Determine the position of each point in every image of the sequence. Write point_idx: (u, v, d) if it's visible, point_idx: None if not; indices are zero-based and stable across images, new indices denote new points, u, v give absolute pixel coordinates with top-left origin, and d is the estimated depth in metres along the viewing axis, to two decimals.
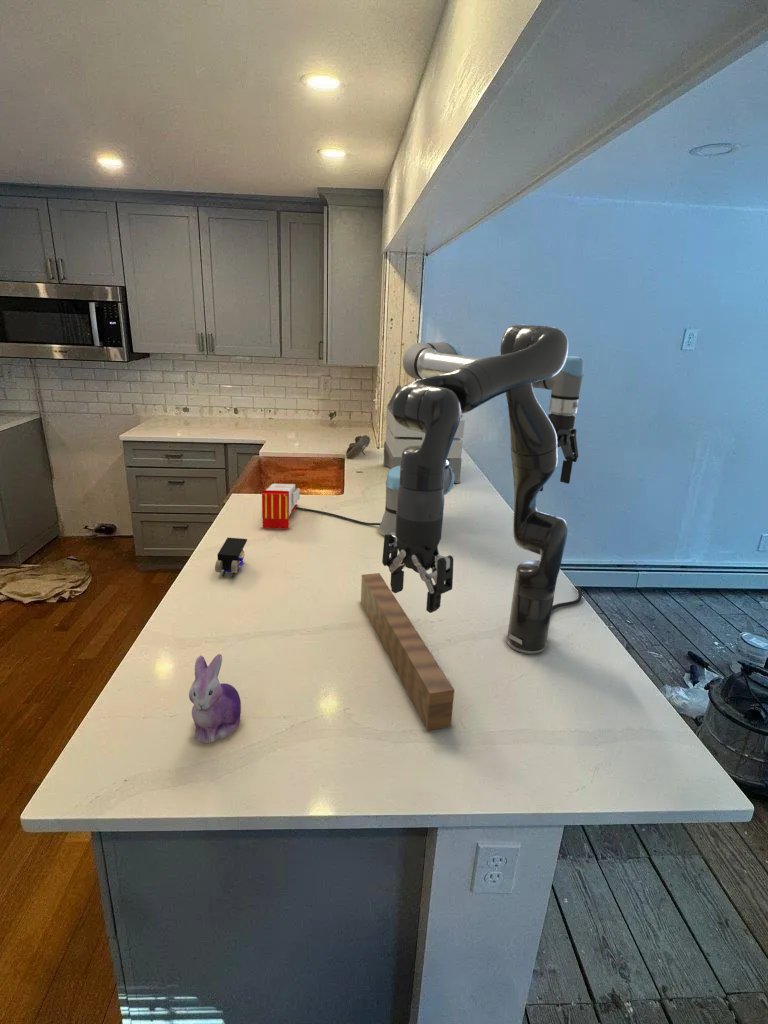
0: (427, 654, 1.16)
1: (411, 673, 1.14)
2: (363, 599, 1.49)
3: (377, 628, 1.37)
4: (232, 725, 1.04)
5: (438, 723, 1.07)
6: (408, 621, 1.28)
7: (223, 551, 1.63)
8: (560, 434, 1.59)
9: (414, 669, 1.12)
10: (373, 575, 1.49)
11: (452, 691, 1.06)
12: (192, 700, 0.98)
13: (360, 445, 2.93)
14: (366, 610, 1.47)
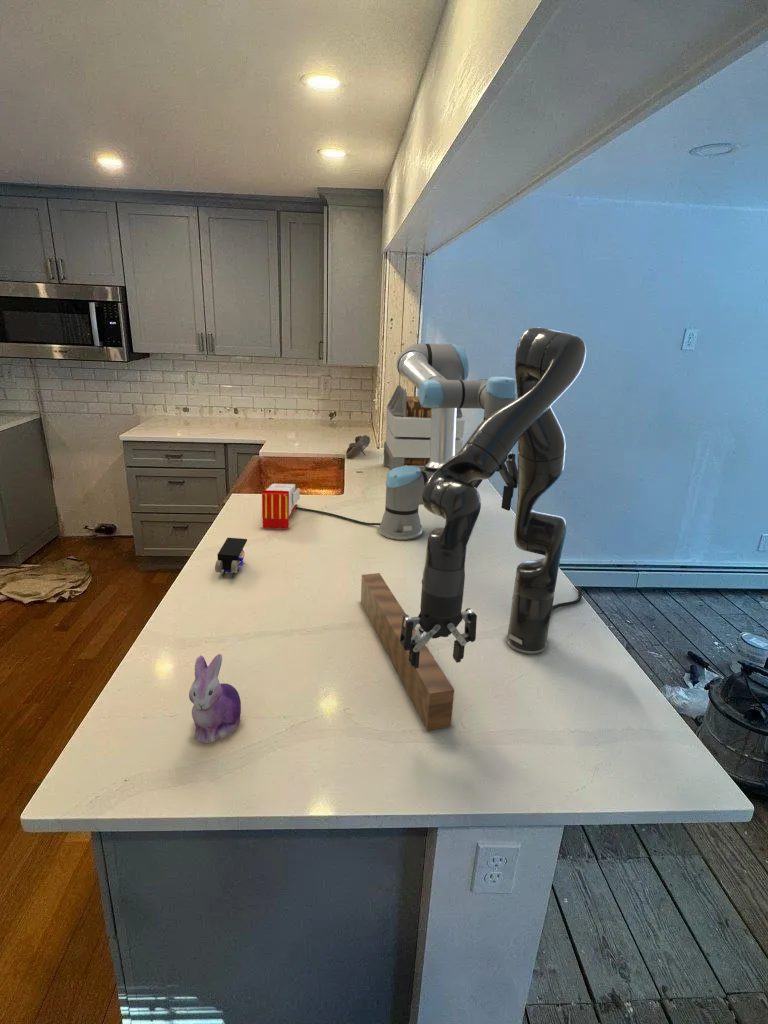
0: (427, 654, 1.16)
1: (411, 673, 1.14)
2: (363, 599, 1.49)
3: (377, 628, 1.37)
4: (232, 725, 1.04)
5: (438, 723, 1.07)
6: None
7: (223, 551, 1.63)
8: None
9: (414, 669, 1.12)
10: (373, 575, 1.49)
11: (452, 691, 1.06)
12: (192, 700, 0.98)
13: (360, 445, 2.93)
14: (366, 610, 1.47)
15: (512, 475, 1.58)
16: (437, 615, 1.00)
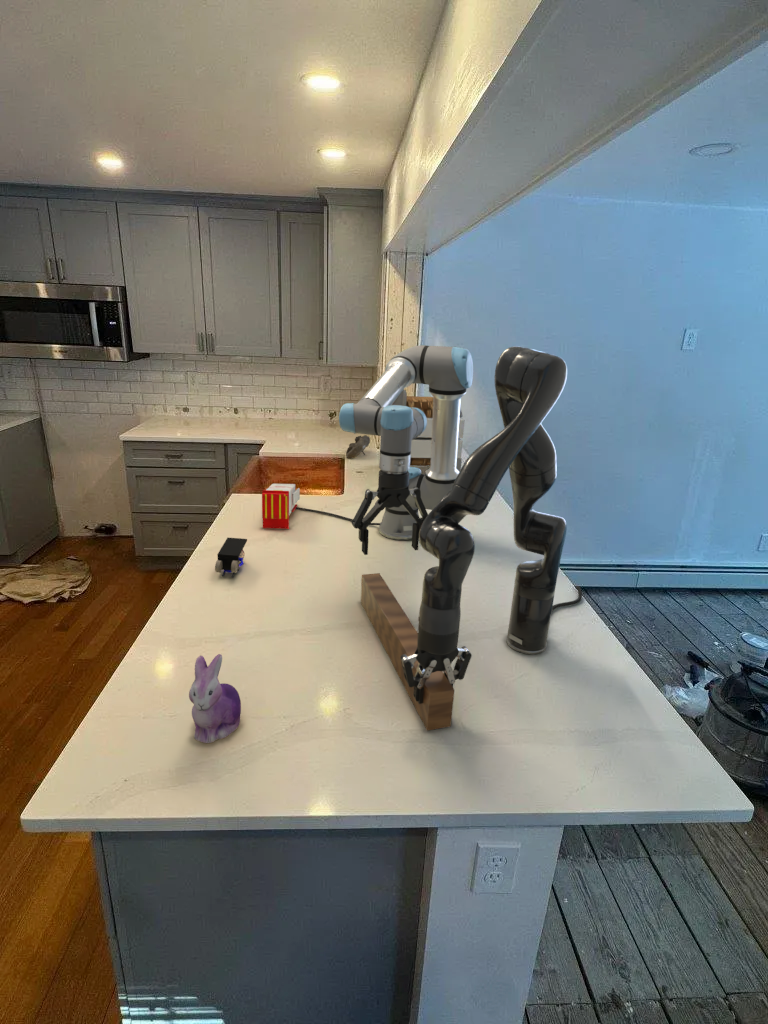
0: None
1: None
2: (363, 599, 1.49)
3: (377, 628, 1.37)
4: (232, 725, 1.04)
5: (438, 723, 1.07)
6: (408, 621, 1.28)
7: (223, 551, 1.63)
8: (389, 493, 1.39)
9: (414, 669, 1.12)
10: (373, 575, 1.49)
11: (452, 691, 1.06)
12: (192, 700, 0.98)
13: (360, 445, 2.93)
14: (366, 610, 1.47)
15: (421, 512, 1.45)
16: (433, 652, 1.02)
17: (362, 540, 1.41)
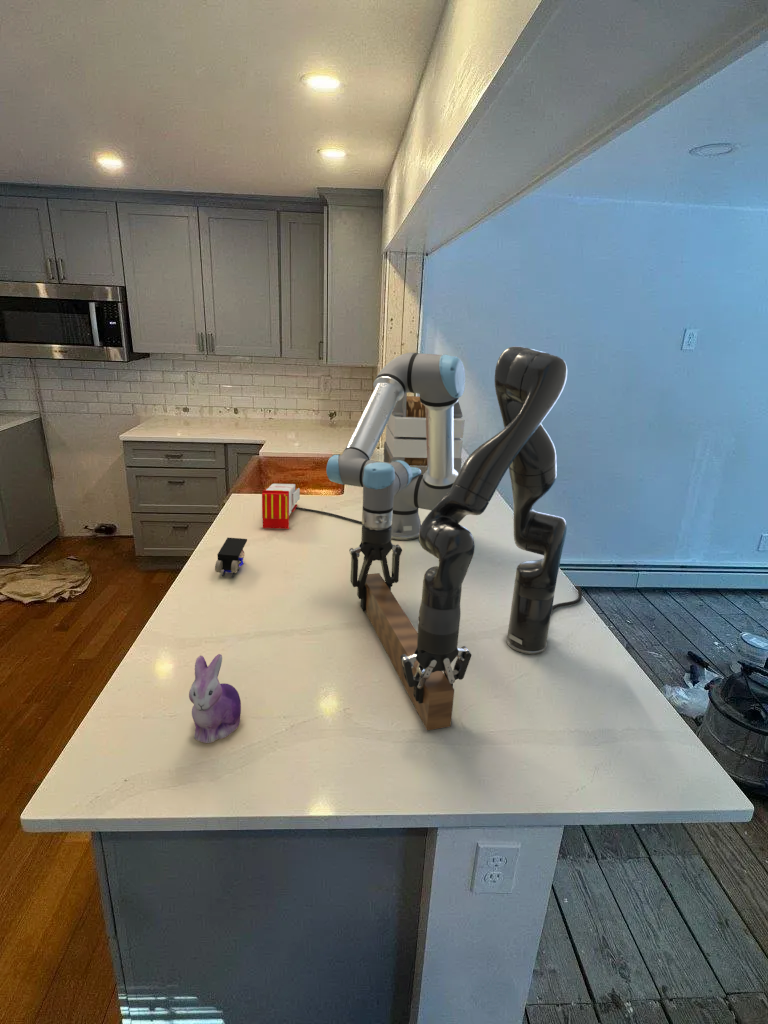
0: None
1: None
2: None
3: (377, 628, 1.37)
4: (232, 725, 1.04)
5: (438, 723, 1.07)
6: (408, 621, 1.28)
7: (223, 551, 1.63)
8: (372, 547, 1.42)
9: (414, 669, 1.12)
10: (373, 575, 1.49)
11: (452, 691, 1.06)
12: (192, 700, 0.98)
13: None
14: (366, 610, 1.47)
15: (393, 570, 1.47)
16: (433, 651, 1.02)
17: (360, 597, 1.46)
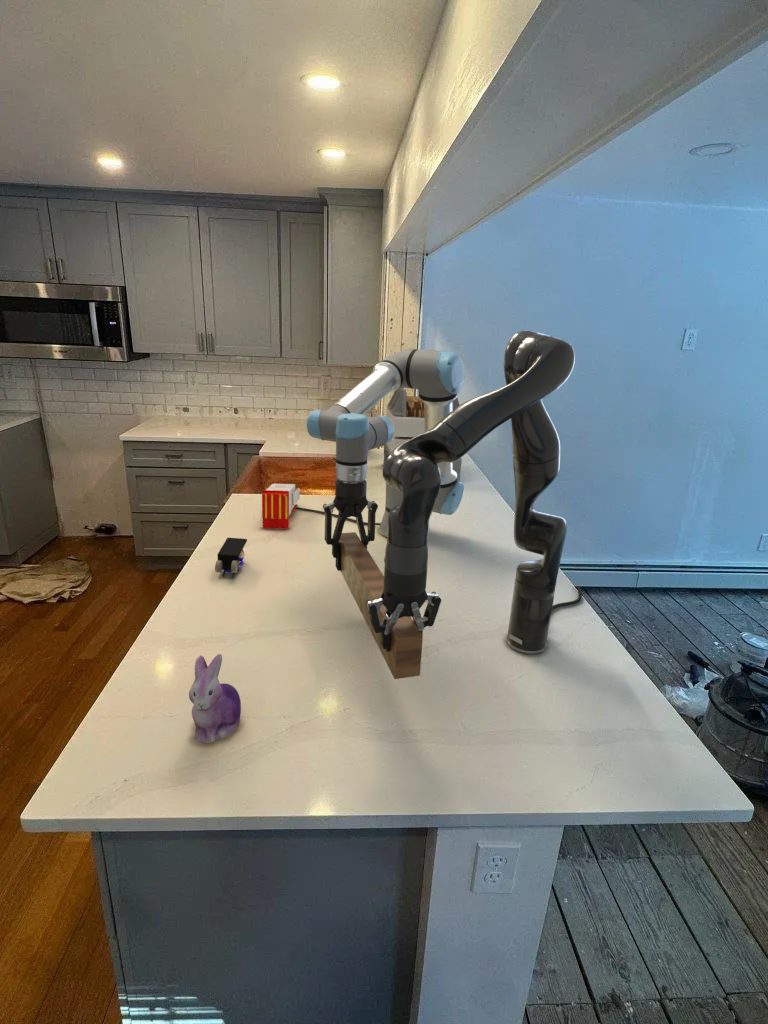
0: None
1: (380, 622, 1.09)
2: None
3: (350, 585, 1.32)
4: (232, 725, 1.04)
5: (407, 672, 1.02)
6: (381, 574, 1.23)
7: (223, 551, 1.63)
8: (346, 503, 1.37)
9: (382, 617, 1.07)
10: (348, 533, 1.44)
11: (420, 637, 1.00)
12: (192, 700, 0.98)
13: None
14: (341, 569, 1.41)
15: (369, 528, 1.42)
16: (399, 593, 0.97)
17: (335, 556, 1.41)
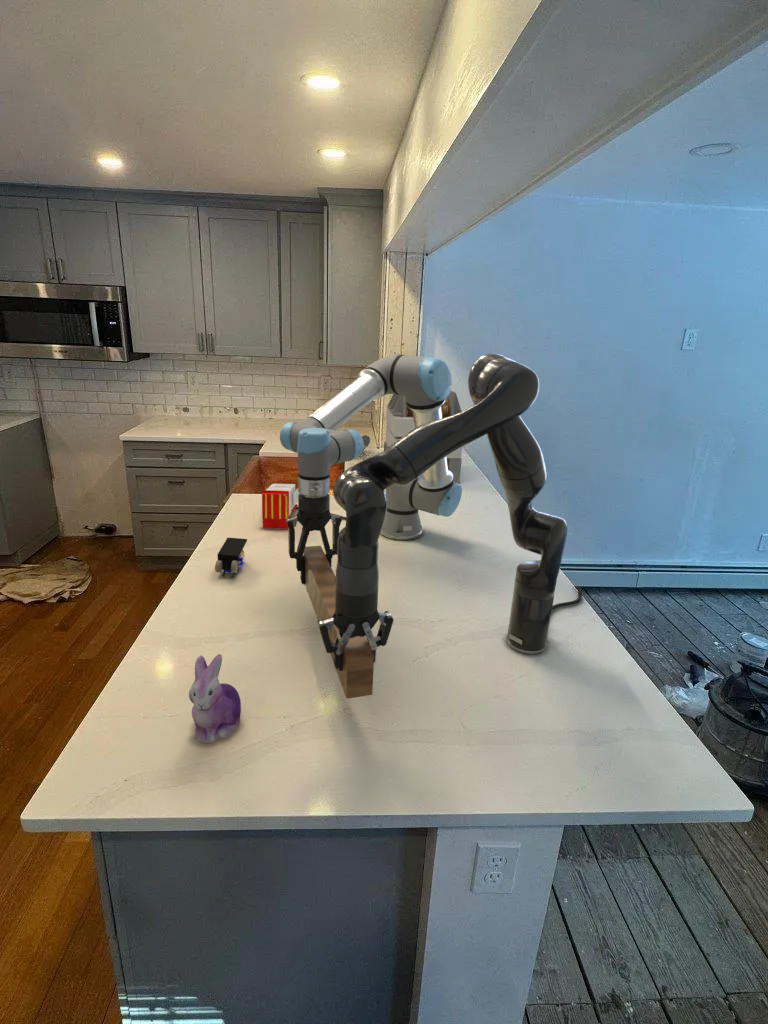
0: None
1: None
2: None
3: (312, 600, 1.32)
4: (232, 725, 1.04)
5: (358, 691, 1.02)
6: None
7: (223, 551, 1.63)
8: (309, 517, 1.36)
9: (336, 636, 1.07)
10: (313, 547, 1.44)
11: (372, 657, 1.00)
12: (192, 700, 0.98)
13: None
14: (305, 583, 1.41)
15: (333, 541, 1.42)
16: (349, 614, 0.97)
17: (299, 570, 1.41)
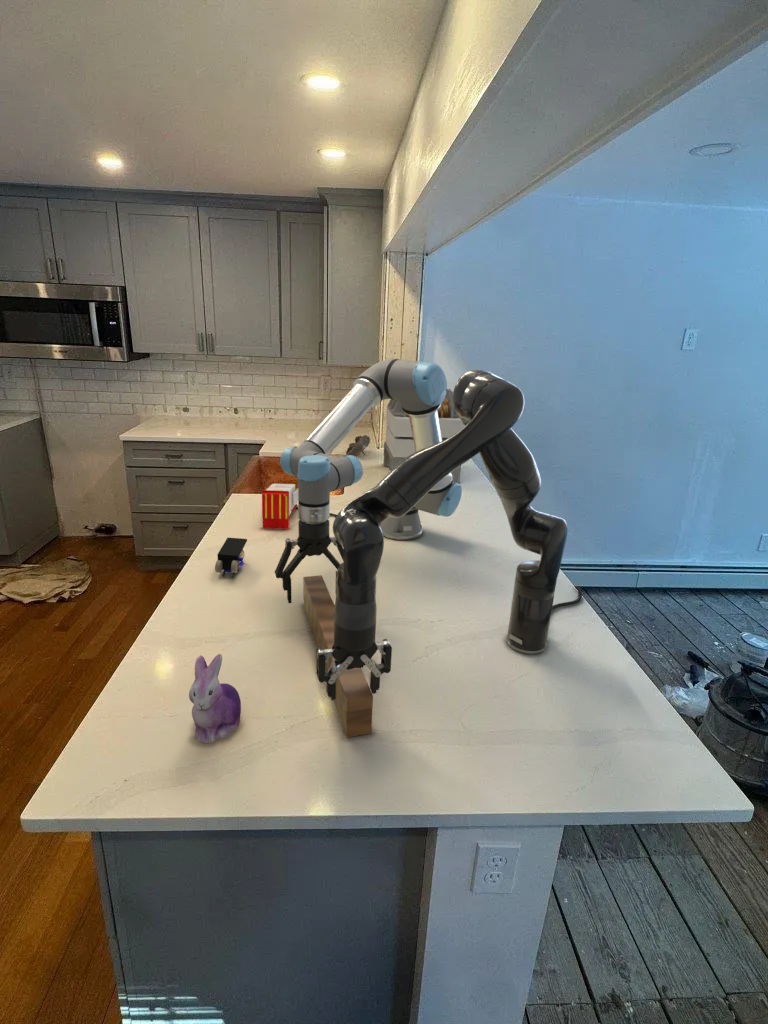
0: None
1: None
2: (304, 602, 1.46)
3: (313, 631, 1.34)
4: (232, 725, 1.04)
5: (358, 730, 1.05)
6: None
7: (223, 551, 1.63)
8: (309, 542, 1.39)
9: None
10: (314, 577, 1.47)
11: (371, 697, 1.03)
12: (192, 700, 0.98)
13: (360, 445, 2.93)
14: (306, 613, 1.44)
15: (343, 560, 1.44)
16: (347, 648, 0.99)
17: (285, 589, 1.42)
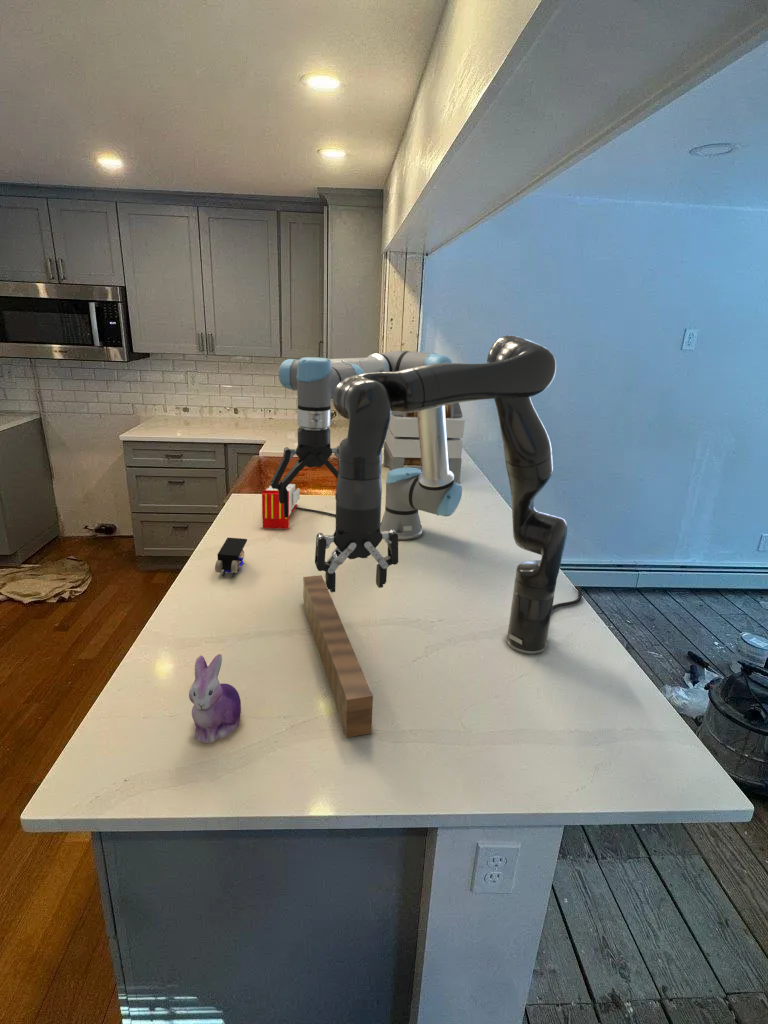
0: (353, 659, 1.13)
1: (335, 678, 1.11)
2: (304, 602, 1.46)
3: (313, 631, 1.34)
4: (232, 725, 1.04)
5: (358, 730, 1.05)
6: (340, 625, 1.25)
7: (223, 551, 1.63)
8: (309, 452, 1.31)
9: (336, 674, 1.09)
10: (314, 577, 1.47)
11: (371, 697, 1.03)
12: (192, 700, 0.98)
13: None
14: (306, 613, 1.44)
15: None
16: (350, 530, 0.92)
17: (282, 501, 1.34)
